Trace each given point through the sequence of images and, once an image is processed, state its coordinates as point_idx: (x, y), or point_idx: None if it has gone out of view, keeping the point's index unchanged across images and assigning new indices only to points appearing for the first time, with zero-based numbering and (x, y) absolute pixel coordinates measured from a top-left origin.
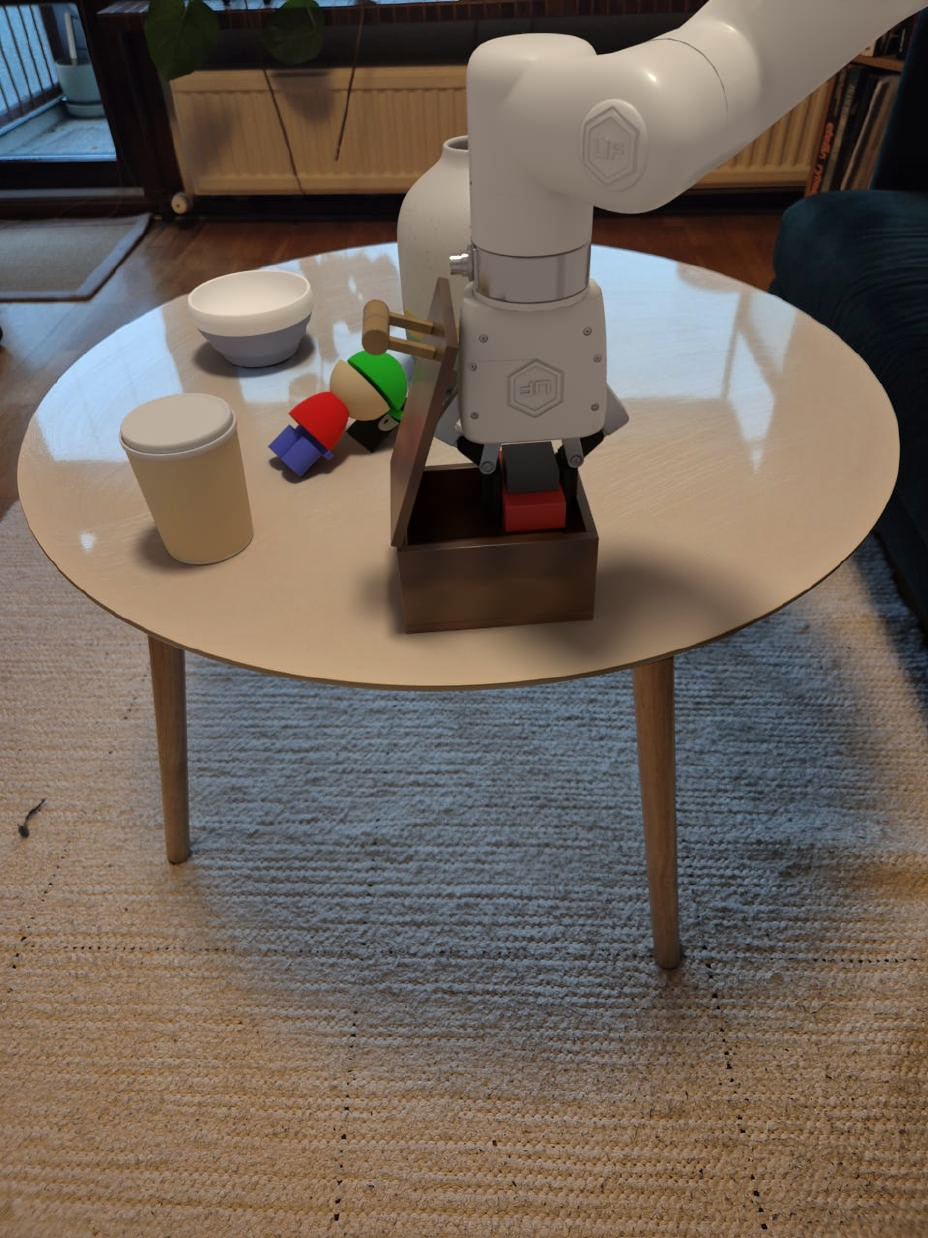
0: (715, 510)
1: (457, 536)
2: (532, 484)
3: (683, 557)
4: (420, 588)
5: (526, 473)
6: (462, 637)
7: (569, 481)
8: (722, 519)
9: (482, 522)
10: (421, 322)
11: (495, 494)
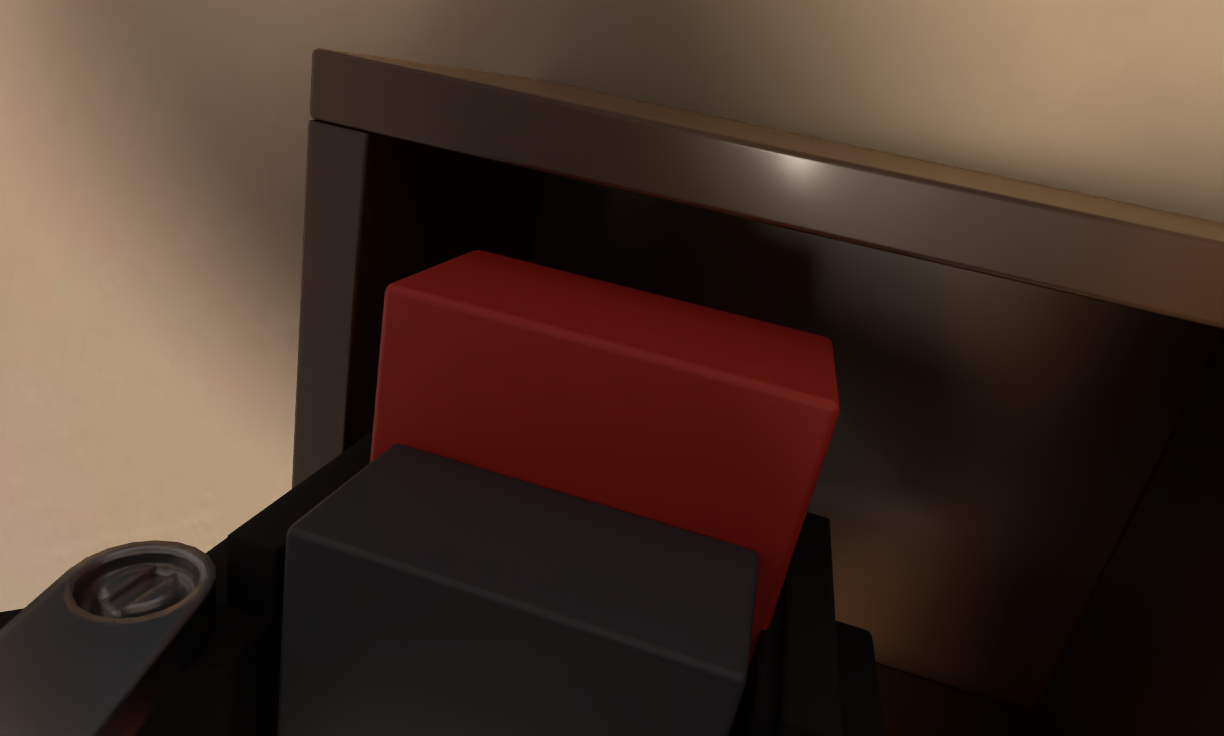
0: (51, 460)
1: None
2: (552, 532)
3: (178, 292)
4: None
5: (568, 610)
6: (1063, 138)
7: (298, 490)
8: (41, 415)
9: None
10: None
11: (822, 614)
